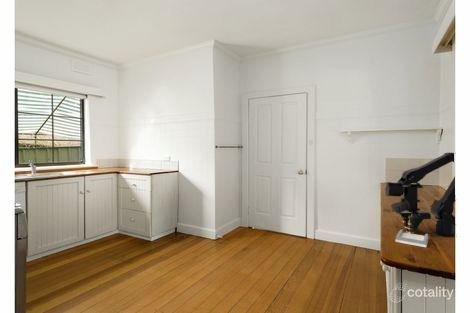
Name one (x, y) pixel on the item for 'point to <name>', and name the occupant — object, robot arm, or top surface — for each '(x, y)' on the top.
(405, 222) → the figurine
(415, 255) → the top surface
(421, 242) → the tray
